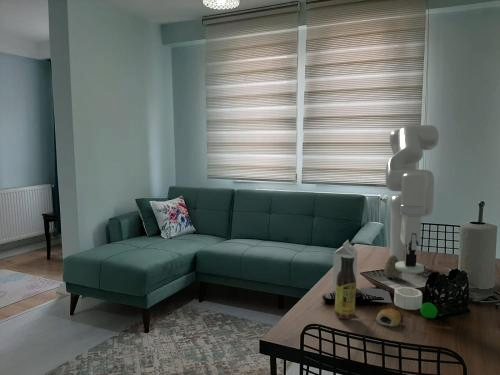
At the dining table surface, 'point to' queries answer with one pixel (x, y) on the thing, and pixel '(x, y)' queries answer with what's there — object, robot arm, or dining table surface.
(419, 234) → the robot arm
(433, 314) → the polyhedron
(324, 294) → the dining table surface
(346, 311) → the sauce bottle
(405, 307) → the bowl
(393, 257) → the decorative egg
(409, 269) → the lid
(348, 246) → the milk carton
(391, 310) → the pastry
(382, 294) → the mat
